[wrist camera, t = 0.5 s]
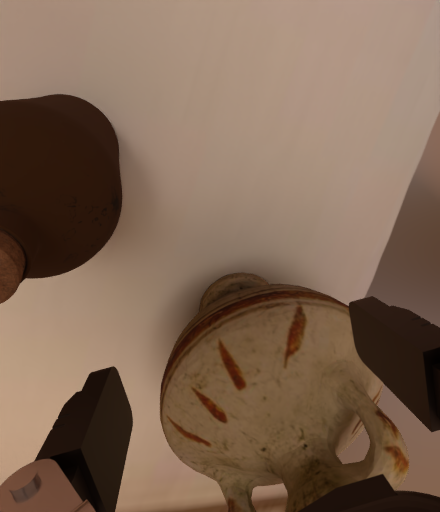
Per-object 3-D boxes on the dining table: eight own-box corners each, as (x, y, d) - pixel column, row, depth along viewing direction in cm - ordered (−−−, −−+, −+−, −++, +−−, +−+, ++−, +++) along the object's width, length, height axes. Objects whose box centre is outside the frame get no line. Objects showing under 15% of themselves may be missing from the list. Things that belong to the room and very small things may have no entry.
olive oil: (82, 64, 31) (-16, 63, 10) (144, 166, 37) (163, 304, 16) (-17, 121, 32) (-316, 233, 10) (59, 213, 37) (-36, 410, 16)
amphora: (322, 225, 47) (552, 388, 20) (311, 362, 56) (456, 598, 29) (147, 243, 44) (136, 468, 16) (167, 385, 53) (181, 675, 26)
